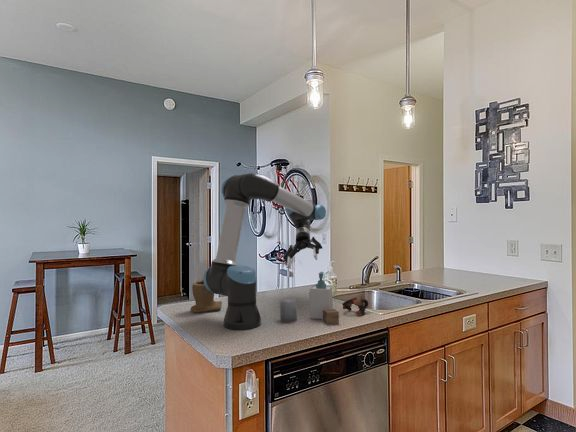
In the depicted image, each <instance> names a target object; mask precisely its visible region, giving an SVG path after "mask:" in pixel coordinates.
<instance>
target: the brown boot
mask: <svg viewBox="0 0 576 432" xmlns="http://www.w3.org/2000/svg"><path fill="white" fill-rule="evenodd" d="M191 290H192V296H193V298H194V302H195V304H194V305H192V306H191V307H190V311H191V312H193V313H203V312H211V311H217V310H221V309H222V303H223V301H222V300H220V301H215V293H213V292H210V291H209V290H208V289H207V288H206V287H205V285H204V280H203V279H201V280H196V281H194V282H193V283H192V286H191Z"/></svg>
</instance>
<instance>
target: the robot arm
mask: <svg viewBox="0 0 576 432" xmlns="http://www.w3.org/2000/svg"><path fill="white" fill-rule="evenodd" d="M220 191H221V194H222V197H223V198H224V200H223V203H224V204H225V210H224V217H223V221H222V225H221V233H220V237H219V241H218V246H217V251H216V256H215V258H214V259H213V260H212V261H211V264H210V266H209V267H208V268H207V269H206V270H205V272H204V273H203V277H202V278H203V279H202V280H204V285H205V287H206V288H207V289H208V290H209V291H210V292H213V293H214V295H221V296H226V297H227V308H226V311H225V315H224V317H223V327H224V328H225V329H228V330H235V331H237V330H250V329H251V330H252V329H255V328H257V327H259V326H261V325H262V318H261V315H260V311H259V308H258V305H257V276H256V275H257V274H256V273H257V272H256V270H255V269H254V268H253V267H251V266H248V265H241V264H240V265H239V264H238V263H237V261H236V260H237V254H238V248H239V245H240V244H239V243H240V239H241V232H242V228H243V222H244V216H245V210H246V209H247V208H249V207H250V203H251V200H262V201H265V202H267V203H269V202H270V203H271V202H273V203H275V204H277V205H279V206H281V207H284V208H285V210H286V213H287V215H288V217H289V218H290V220H291V222H292V224H293V226H294V228H295V244H294V245H293V244H290V245H289V247H288V249H287V250H286V251H285V253H284V255H283V256H282V259H283V260H284V262H286V264H287V265H286V266H287V267H288V269H289V270H291V269H292V261H293V260H292V259H293V258H294V257H295V256H296V255H297V254H298V253H299V252H300V251H301V250H304V249H305V250H306V249H312V250H313V257H314V260H316V261H317V260H318V254H320V249H323V246H322V243H320V242H319V241H318V240H317V239H316V237H315V236H312V238H311V221H318V220H319V221H320V220H324V219H325V218H326V214H327V208H326V207H325V206H324V205H323V204H314V203H312V202H311V201H308V200H306V199H304V198H303V197H301V196H299V195H297V194H295V193H293V192H291V191H289V190H288V189H285V188H284V187H282V186H280V185H279V183H278V182H277V181H274V180H273V179H271V178H268V177H267V176H264V175H262V174H260V173H259V174H258V173H256V172H249V173H245V174H244V173H243V174H234V175H232V176H229V177H227V178H225V180H224V181H223V182H222V185H221V190H220Z"/></svg>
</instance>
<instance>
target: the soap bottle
mask: <svg viewBox="0 0 576 432" xmlns="http://www.w3.org/2000/svg"><path fill="white" fill-rule="evenodd" d="M324 273H325V272H324V271H320V272H318V279H319V280H317V283H316V284H313V285H312V286H311V287H309V318H310V319H317V320H323V309H334V308H333V307H334V306H333V305H334V304H333V302H334V301H333V297H334V296H333V285H328V284H327V283H325V280H323V278H324Z"/></svg>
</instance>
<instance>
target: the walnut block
mask: <svg viewBox="0 0 576 432" xmlns="http://www.w3.org/2000/svg"><path fill="white" fill-rule="evenodd" d="M339 312H340V311H338V310H337V309H336V308H333V309H323V319H322V322H323V323H324V324H325V325H327V326H328V325H329V324H330V325H338V324H339V323H340V317H339V314H340V313H339Z"/></svg>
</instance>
